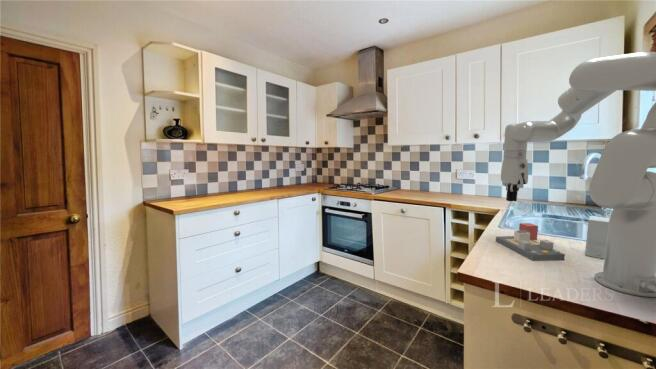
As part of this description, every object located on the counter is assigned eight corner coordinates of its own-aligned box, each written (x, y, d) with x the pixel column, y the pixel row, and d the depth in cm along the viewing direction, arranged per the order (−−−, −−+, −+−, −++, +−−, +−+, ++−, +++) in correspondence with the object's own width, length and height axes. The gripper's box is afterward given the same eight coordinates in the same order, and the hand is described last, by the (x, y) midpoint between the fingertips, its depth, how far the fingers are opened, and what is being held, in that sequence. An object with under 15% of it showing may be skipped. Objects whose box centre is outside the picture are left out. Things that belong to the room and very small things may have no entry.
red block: (536, 239, 114) (538, 225, 113) (526, 240, 114) (527, 226, 113) (528, 236, 118) (529, 223, 118) (518, 236, 118) (519, 223, 118)
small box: (610, 260, 92) (614, 222, 91) (584, 255, 97) (588, 219, 95) (610, 253, 98) (614, 218, 96) (586, 249, 102) (589, 215, 101)
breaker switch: (529, 242, 104) (530, 231, 104) (519, 242, 104) (519, 232, 104) (523, 239, 107) (524, 229, 107) (513, 239, 107) (514, 229, 107)
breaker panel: (564, 259, 93) (565, 247, 93) (532, 260, 93) (533, 247, 92) (522, 240, 113) (522, 230, 112) (495, 241, 113) (496, 230, 112)
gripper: (538, 155, 101) (534, 204, 104) (511, 154, 116) (508, 197, 118) (518, 156, 101) (514, 204, 104) (493, 155, 116) (491, 197, 118)
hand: (511, 200), depth 111 cm, fingers closed
